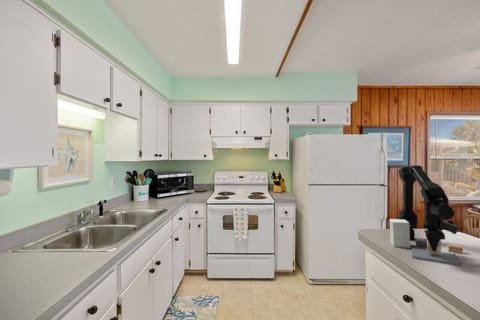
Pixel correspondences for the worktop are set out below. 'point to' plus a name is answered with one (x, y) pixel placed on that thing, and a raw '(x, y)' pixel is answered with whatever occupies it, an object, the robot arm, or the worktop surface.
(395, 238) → the supplement box
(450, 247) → the terracotta tile
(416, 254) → the slate board
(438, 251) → the beech block
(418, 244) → the smooth grey pebble
